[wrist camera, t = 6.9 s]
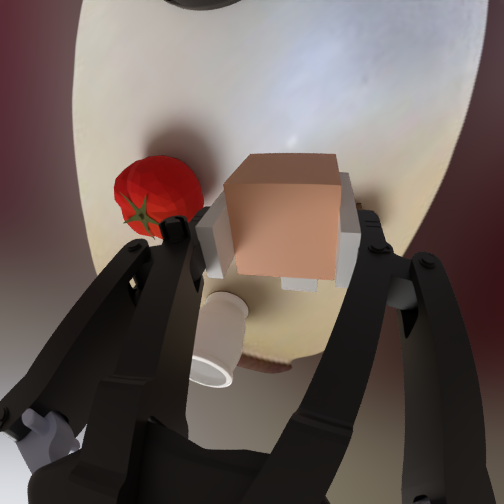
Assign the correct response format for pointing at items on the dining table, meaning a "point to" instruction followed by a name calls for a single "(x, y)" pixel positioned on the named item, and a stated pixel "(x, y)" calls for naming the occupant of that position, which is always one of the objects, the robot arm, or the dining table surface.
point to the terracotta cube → (285, 214)
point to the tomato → (157, 193)
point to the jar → (218, 339)
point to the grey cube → (299, 284)
